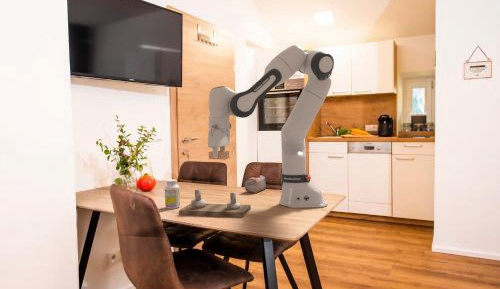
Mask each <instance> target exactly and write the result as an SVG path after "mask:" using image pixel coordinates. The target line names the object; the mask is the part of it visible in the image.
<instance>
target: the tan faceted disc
mask: <svg viewBox="0 0 500 289" xmlns="http://www.w3.org/2000/svg"><path fill="white" fill-rule="evenodd" d="M218 154H219V157H218V158H214V154H213V150H212V151H208V160H227V159H229V158H230V150H225V151H220V150H218Z"/></svg>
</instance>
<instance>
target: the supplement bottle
mask: <svg viewBox="0 0 500 289" xmlns="http://www.w3.org/2000/svg"><path fill="white" fill-rule="evenodd" d="M177 183H178V180H177V179H173V178H172V179H167V180H166V185H165V187H164V204H165V209H168V210H174V209H179V208H180V207H181V198H180V185H178V184H177Z"/></svg>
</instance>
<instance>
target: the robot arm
mask: <svg viewBox="0 0 500 289" xmlns="http://www.w3.org/2000/svg"><path fill="white" fill-rule="evenodd" d="M334 67H335V60H334V56H333V55H331V53H329V52H327V51H322V50H319V49H318V50H316V49H315V50H314V49H313V50H308V49H307V50H306V49H305V50H304V49H303V48H302V47H301V46H299V45H296V44H293V45H290V46H289V47H286V48H285V49H284V50H282V51H281V52H279V53H278V54H277V55H276V56H275V57H273V58H272V60H271V61H270V62H268V64H267V65H266V67H264V73H263V75H262V76H261V77H260V79H258V80H257V81H256V82H255V83H254V84H252V85H251V87H250V88H248V89H246V90H245V91H241V92H238V93H237V92H235V91H234V90H232V89H230V88H229V87H228V86H226V85H222V86H221V85H220V86H217V87H213V88H211V89H210V91H209V94H208V109H209V110H208V111H209V115H208V129H209V130H208V134H207V147H208V149H209V148H211V149H212V151H213V154H214V158H218V157H219V154H218V151H226V146H229V144H230V137H231V129H232V124H231V122H230V116H233V117H235V118H241V119H244V118H248V117H250V116H252V114H253V113H254V111H255V110H256V107H257V104H258V103H259V102H260V101H261V99H263V98H264V97H265V96H266V95H267V94H268V93H269V92H270V91H272V89H273V88H275V87H278V86H281V85H282V84H284V83H285V82H286V81H288V80H289V79H291V77H293V76H294V75H295V74H296V73H298V72H299V73H300V74H304V75H307V77H308V78H307V81H306V84H305V86H304V87H303V90H302V91H301V92H300V95H299V96H298V99H297V100H296V102H295V104H294V105H293V108H292V110H291V112H290V113H289V116H287V117H288V118H287V119H286V121H285V122H284V124H283V126H282V127H281V130H280V132H281V134H280V137H281V138H280V139H281V170H282V171H281V176H280V182H281V183H280V184H281V194H280V199H279V202H278V203H279V205H282V206H283V207H284V206H285V207H288V208H293V209H296V208H298V209H299V208H301V209H303V208H326V207H327V206H328V205H329V201H328V200H327V199H324V195H323V192H322V189H321V188H319V187H318V186H316V185H315V184H314V183H313V182H311V179H312V176H311V175H310V174H309V173H307V170H306V167H307V166H306V164H307V162H306V160H307V159H306V158H307V157H306V156H307V155H306V145H305V139H306V137H307V135H308V134H309V131H310V129H311V127H312V125H313V123H314V121H315V119H316V117H317V115H318V113H319V111H320V110H321V108H322V106H323V104H324V102H325V100H326V98H327V96H328V94H329V91H330V89H331V85H332V80H331V77H330V76H332V73H333V70H334Z"/></svg>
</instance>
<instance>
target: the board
mask: <svg viewBox="0 0 500 289" xmlns="http://www.w3.org/2000/svg"><path fill="white" fill-rule="evenodd" d="M229 196H230V197H229V198H230V199H229V200H230V202H227V203H206V199H203V198H202V190H201V189H195V190H194V199H191V200H190V202H191V203H190V204H187V205H186V206H184V207H183V208H180V209H179V210H178V215H179V216H193V217H195V216H197V217H200V216H201V217H225V218H226V217H227V218H245V216H246V215H247V214H248V213H249V212H250V210H252V206H251V204H241V203H240V202H238V201H237V193H236V192H230V194H229Z"/></svg>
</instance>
